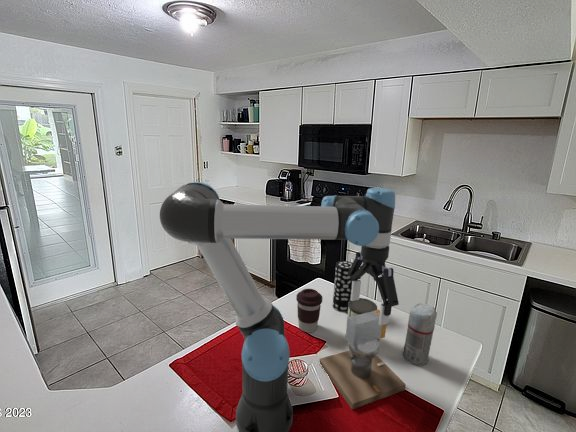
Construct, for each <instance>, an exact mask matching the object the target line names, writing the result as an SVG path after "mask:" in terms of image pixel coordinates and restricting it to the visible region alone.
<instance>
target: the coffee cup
mask: <svg viewBox="0 0 576 432" xmlns="http://www.w3.org/2000/svg"><path fill="white" fill-rule="evenodd" d="M295 298H296V299H295V300H296V302H297V307H296V308H297V320H298V325H297V326H298V328H299V329H300V330H301V331H302V332H305V333H312V332H314V331H316V330H317V328H318V322H319V319H320V313H321V305H322V303H323V295H322V294H321V293H320V292H319V291H318V290H316V289H314V288H304V289H302V290H301V291H299V292H297V293H296V297H295Z"/></svg>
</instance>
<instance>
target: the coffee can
mask: <svg viewBox="0 0 576 432" xmlns="http://www.w3.org/2000/svg"><path fill="white" fill-rule="evenodd" d="M374 310H378V305H377V304H376V303H375V302H374V301H373V300H370V299H368V298H364V297H363V298H362V297H359V300H355V301H351V300H350V301H349V302H348V312H347V317H346V318H347V319H348V317H351V316H355V315H359V314H364V313H368V312H372V311H374ZM346 329H347V327H346ZM346 329H345V330H346ZM344 337H345V340H346V341H347V342H348V343H349V341H348V339H347V338H346V335H345V336H344Z"/></svg>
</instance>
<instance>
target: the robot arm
mask: <svg viewBox="0 0 576 432" xmlns="http://www.w3.org/2000/svg"><path fill="white" fill-rule="evenodd" d="M320 204H321V205H320V206H319V205H317V206H316V205H313V206H311V205H308V206H307V205H274V204H273V205H271V204H269V205H268V204H265V205H264V204H230V203H228V204H227V203H226V204H225V203H223V201H221V200H220V197H219V194H218V192H217V191H216V190H215V189H214V188H213V187H212V186H211V185H210V184H208V183H205V182H201V181H192V182H188V183H186V184H183V185H181V186H180V187H178V188H177V189H176V190H175V191H174V192H172V193H170V195H168V196H167V197H166V198H165V199H164V200H163V202H162V204H161V206H160V209H159V220H160V224H161V226H162V228H163V230H164V231H165V232H166V233H167V235H169V236H171V237H172V238H174V239H175V240H177V241H180V242H185V243H188V244H190V245H195V246H197V248H198V250H199V251H200V253H201V255H202V257H203V258H204V260H205V262H206V264H207V265H208V267H209V269H210V271H211V272H212V275H213V276H214V278H215V279H216V280H217V283H218V284H219V286H220V288H221V290H222V291H223V293H224V294H225V297H226V298H227V300H228V302H229V303H230V305H231V306H232V308H233V310H234V311H235V314H236V317H235V325H236V326H237V328H238V330H239V331H240V333H241V335H242V336H243V340H244V341H243V346H242V349H241V362H242V363H241V364H242V367H241V369H242V370H241V371H242V379H241V380H242V382H241V383H242V394H241V396H240V398H239V401H238V403H237V406H236V410H235V423H236V424H235V425H236V427H237V431H238V432H289V431H290V430H291V427H292V425H293V419H294V418H293V417H294V409H293V405H292V402H291V400H290V397H289V393H288V386H289V385H288V381H289V361H290V356H291V355H290V347H289V342H288V341H287V339H286V332H285V327H286V326H285V320H284V317H283V315H282V313H281V311H280V310H279V308H278V307H276V306H275V305H274V304H273V303H272V301H271V300H270V299H268V298H263V294H262V293H261V292H260V290H259V287H258V286H257V284H256V283H255V281H254V278H253V277H252V275H251V273H250V272H249V269H248V268H247V266H246V264H245V262H244V260H243V258H242V257H241V255H240V254H239V251H238V248H237V247H236V246H235V243H234V242H233V240H232V239H239V240H240V239H245V240H247V239H250V240H251V239H253V240H254V239H255V240H257V239H258V240H259V239H260V240H337V241H339V240H341V241H348V242H349V243H351V244H353V245H355V246H359V247H360V249H361V250H360V251H358V252H355V257H354V260H353V262H352V263H353V264H352V266H351V268H350V270H349V271H348V276H351V280H352V284H351V289H352V291H351V301H355V300H359V298H360V296H361V295H360V294H361V286H362V284H361V283H362V280H361V279H362V278H363V276H364V275H365V274H368V275H370V276H371V277H372V279H373V280H374V282H376V285H377V287H378V292H379V294H380V297H381V300H382V302H381V303H380V309H379V310H380V316H379V325H380V326H381V325H384V324H387V325H388V324H389V319H390V316H391V313H392V307H396V306H398V305H399V304H400V303H399V302H400V301H399V299H398V297H399V296H398V293H397V288H396V283H395V278H394V271H395V270H394V268H393V267H389V268H388V267H386V261H387V260H389V259H388V258H389V253H390V243H391V236H392V228H393V220H394V213H395V210H396V209H395V208H396V193H395V191H393V190H392V189H390V188H384V187H370V188H368V189H367V190H366V194H365V195H359V196H358V195H337V194H335V195H326V196H324V197H322V200H321V203H320Z"/></svg>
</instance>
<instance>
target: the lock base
mask: <svg viewBox="0 0 576 432" xmlns="http://www.w3.org/2000/svg"><path fill="white" fill-rule="evenodd" d="M318 362H320V364H321V365H322V367H323V368H324V370H325V371H326V373H327V374H328V375H327V374H326V373H325V374H326V375H327V377H328V376H329V377H328V378H329V380H330V381H331V382H332V384H333V385H334V387H335V388H336V389H337V391H338V392H339V394H340V395H341V396H342V398H343V399H344V400H345V402H346V404H348V406H349V408H350V409H351V410H355V409H357V407H358V408H360V407H362V406H365V404H366V405H368V403H369V404H371V403H374V402H377V401H379V400H382V399H384V398H387V397H390V396H392V395H394V394H398V393H401V392H403V391H406V386H407V384H406V383H405V382H404V381H403V380H402V379H401V378H400V377H399V376H398V375H397V374H396V373H395V372H394V371H393V370H392V369H391V368H390V367H389V366H388V365H387V364H386V363H385V362H384V361H383V359H381V358H380V357H379V355H377V356H376V357H374V358H371V359H364V358H360V357H357V356H355V355H354V354H352V353H351V351H350V350H349V349H348V350H345V351H342V352H338V353H334V354H331V355H329V356H324V357H321V358H319V361H318ZM320 364H319V365H320ZM322 367H321V368H322ZM323 368H322V369H323ZM324 370H323V371H324ZM325 371H324V372H325Z"/></svg>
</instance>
